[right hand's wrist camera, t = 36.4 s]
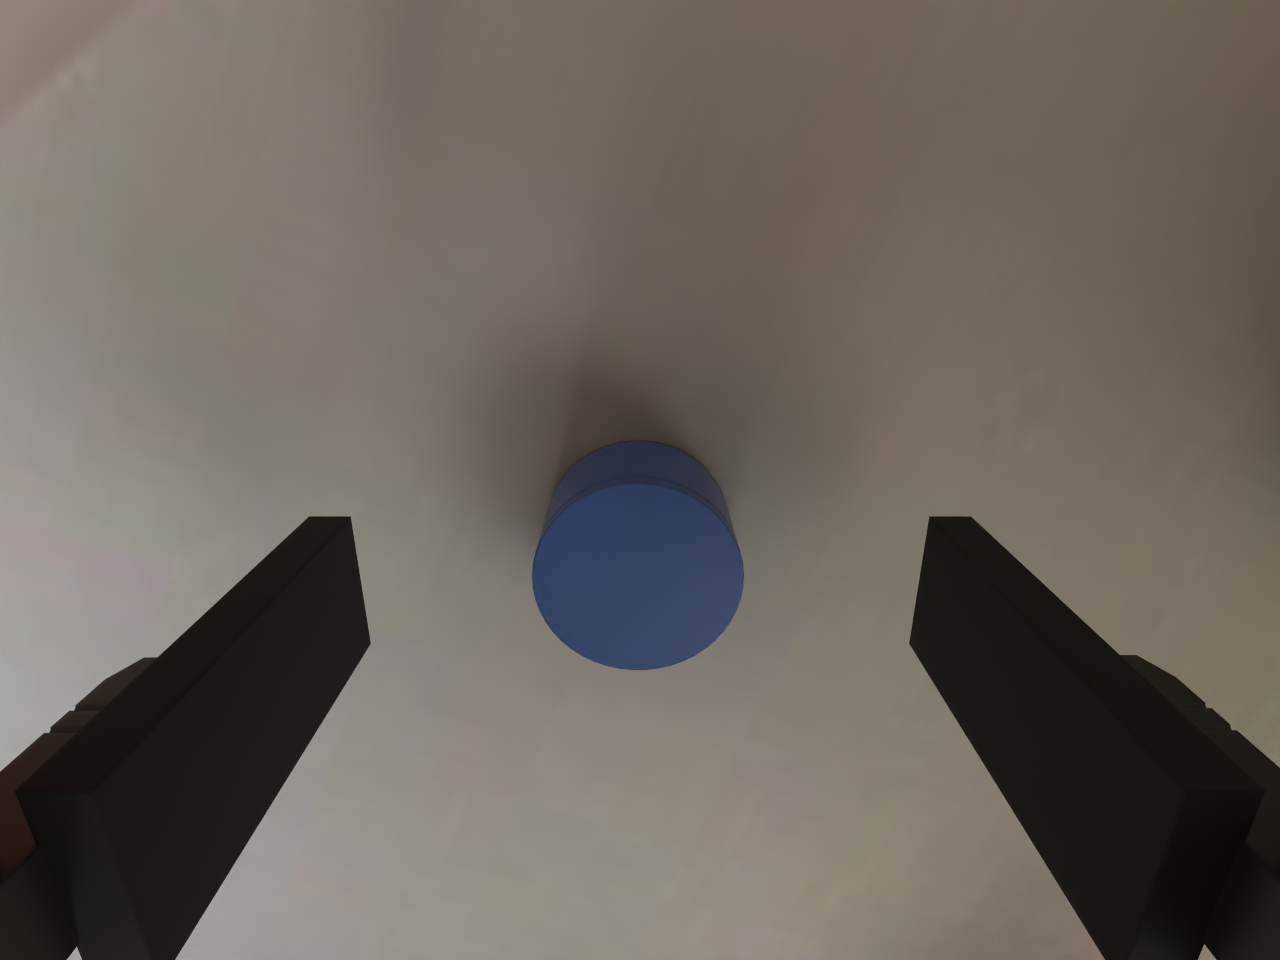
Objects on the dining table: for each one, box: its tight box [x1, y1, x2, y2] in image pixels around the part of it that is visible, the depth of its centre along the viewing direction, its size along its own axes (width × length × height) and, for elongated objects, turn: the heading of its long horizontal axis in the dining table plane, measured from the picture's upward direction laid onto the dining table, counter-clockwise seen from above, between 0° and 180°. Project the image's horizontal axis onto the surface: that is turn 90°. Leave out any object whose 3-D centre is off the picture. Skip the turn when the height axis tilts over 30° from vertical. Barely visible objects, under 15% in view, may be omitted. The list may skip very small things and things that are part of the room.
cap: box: [532, 441, 744, 670], centre depth 14 cm, size 4×4×2 cm
